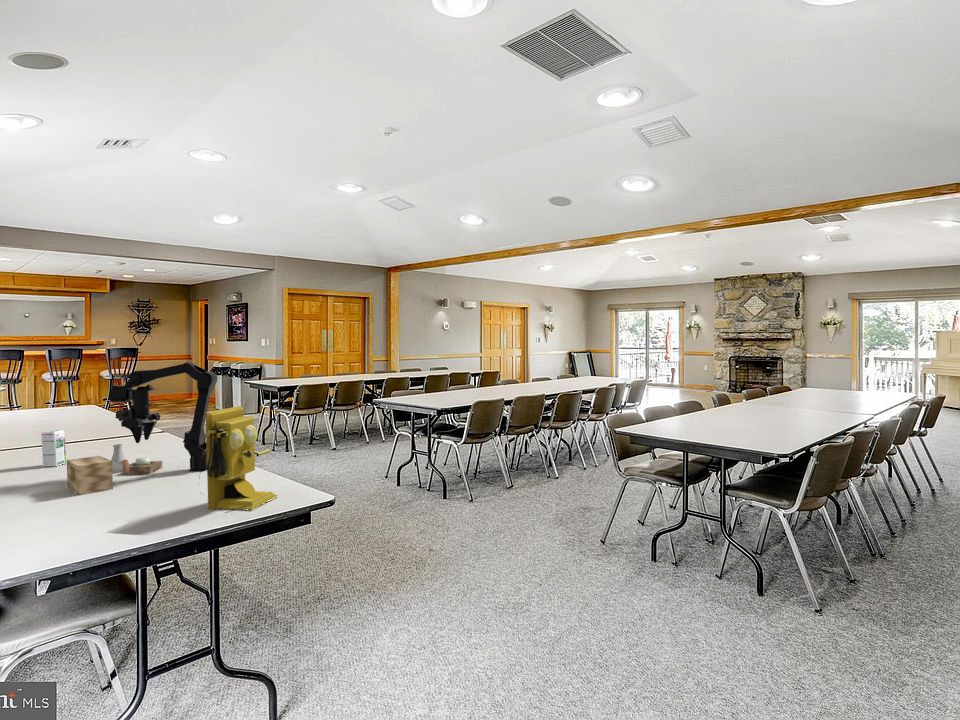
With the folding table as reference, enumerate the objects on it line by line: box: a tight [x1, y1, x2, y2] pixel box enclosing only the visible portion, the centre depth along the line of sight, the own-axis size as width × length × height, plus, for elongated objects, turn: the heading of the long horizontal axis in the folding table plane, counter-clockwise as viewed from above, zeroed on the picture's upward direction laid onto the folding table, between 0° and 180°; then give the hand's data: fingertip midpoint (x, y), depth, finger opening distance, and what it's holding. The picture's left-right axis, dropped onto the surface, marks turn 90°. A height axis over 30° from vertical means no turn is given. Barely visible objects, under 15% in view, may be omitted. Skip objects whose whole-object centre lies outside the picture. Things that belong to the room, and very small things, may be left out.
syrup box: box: [40, 429, 67, 468], centre depth 241 cm, size 6×6×14 cm
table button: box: [135, 457, 151, 466], centre depth 229 cm, size 5×5×3 cm
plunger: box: [112, 459, 130, 475], centre depth 209 cm, size 8×5×5 cm, turn 139°
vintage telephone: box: [198, 405, 279, 514], centre depth 183 cm, size 31×14×30 cm, turn 170°
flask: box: [110, 443, 127, 463], centre depth 233 cm, size 7×7×10 cm
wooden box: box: [66, 455, 114, 496], centre depth 203 cm, size 10×14×10 cm
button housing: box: [122, 460, 163, 475], centre depth 229 cm, size 10×10×3 cm
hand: (142, 441), depth 229 cm, fingers open, 6 cm apart
